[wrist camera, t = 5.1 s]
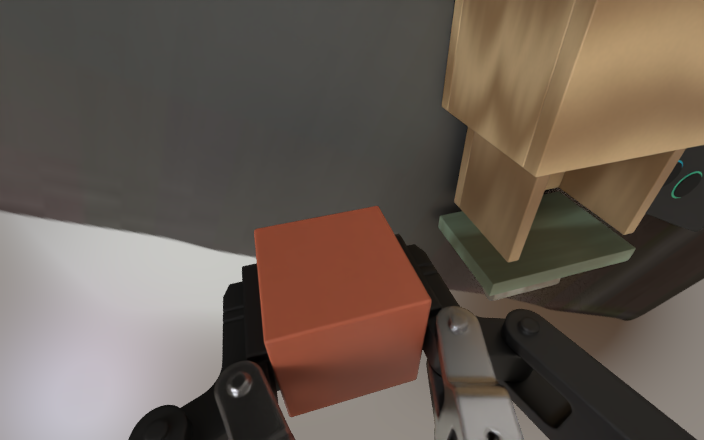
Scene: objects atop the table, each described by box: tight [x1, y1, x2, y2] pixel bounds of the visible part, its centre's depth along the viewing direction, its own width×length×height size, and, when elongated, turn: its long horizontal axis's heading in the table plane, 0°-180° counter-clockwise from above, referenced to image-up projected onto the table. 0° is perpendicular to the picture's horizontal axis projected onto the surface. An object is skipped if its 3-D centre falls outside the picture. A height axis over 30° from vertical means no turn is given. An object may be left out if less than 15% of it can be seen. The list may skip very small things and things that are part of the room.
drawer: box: [438, 127, 686, 301], centre depth 24 cm, size 17×11×7 cm, turn 2°
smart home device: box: [645, 145, 704, 232], centre depth 33 cm, size 8×2×20 cm
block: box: [254, 206, 432, 417], centre depth 12 cm, size 4×4×4 cm
